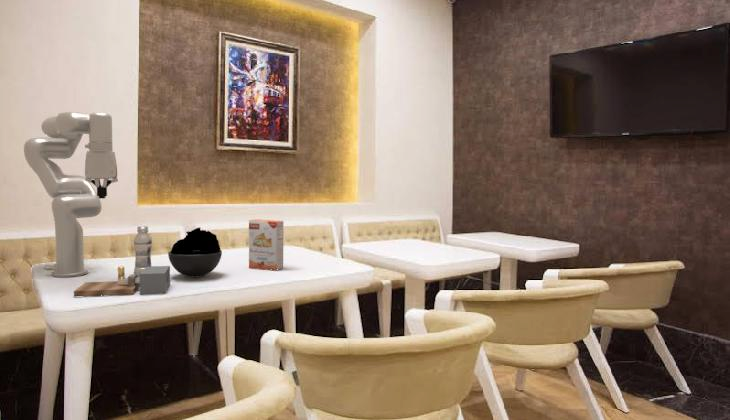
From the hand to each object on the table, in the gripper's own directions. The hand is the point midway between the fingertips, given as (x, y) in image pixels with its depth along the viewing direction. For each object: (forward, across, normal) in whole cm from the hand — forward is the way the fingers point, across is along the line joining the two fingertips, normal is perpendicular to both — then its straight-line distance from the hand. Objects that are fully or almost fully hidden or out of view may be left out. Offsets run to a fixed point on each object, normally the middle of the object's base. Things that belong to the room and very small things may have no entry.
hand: (102, 198), depth 194 cm
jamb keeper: (+31, +20, -16) cm, 40 cm away
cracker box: (+31, +60, +18) cm, 70 cm away
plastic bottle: (+31, +13, +4) cm, 34 cm away
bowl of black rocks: (+31, +32, +5) cm, 45 cm away
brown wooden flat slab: (+31, +5, -16) cm, 35 cm away
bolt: (+28, +14, -16) cm, 35 cm away
